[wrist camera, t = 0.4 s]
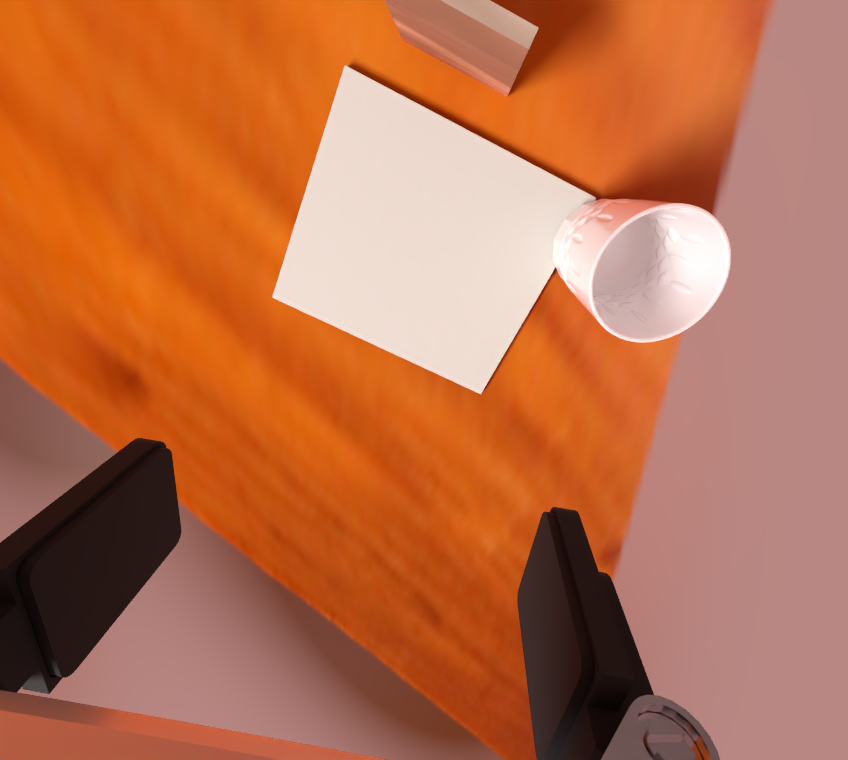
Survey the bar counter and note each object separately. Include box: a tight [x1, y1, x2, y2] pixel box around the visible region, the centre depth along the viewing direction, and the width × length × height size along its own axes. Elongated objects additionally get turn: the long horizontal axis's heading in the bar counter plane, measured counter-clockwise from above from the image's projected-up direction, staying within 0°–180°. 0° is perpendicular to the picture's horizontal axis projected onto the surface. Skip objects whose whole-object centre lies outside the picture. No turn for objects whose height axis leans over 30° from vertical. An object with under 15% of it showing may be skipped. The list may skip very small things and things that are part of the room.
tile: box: [385, 0, 539, 96], centre depth 26 cm, size 2×8×8 cm, turn 65°
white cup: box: [552, 199, 731, 342], centre depth 29 cm, size 8×8×10 cm
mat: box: [272, 66, 596, 394], centre depth 35 cm, size 18×20×1 cm
